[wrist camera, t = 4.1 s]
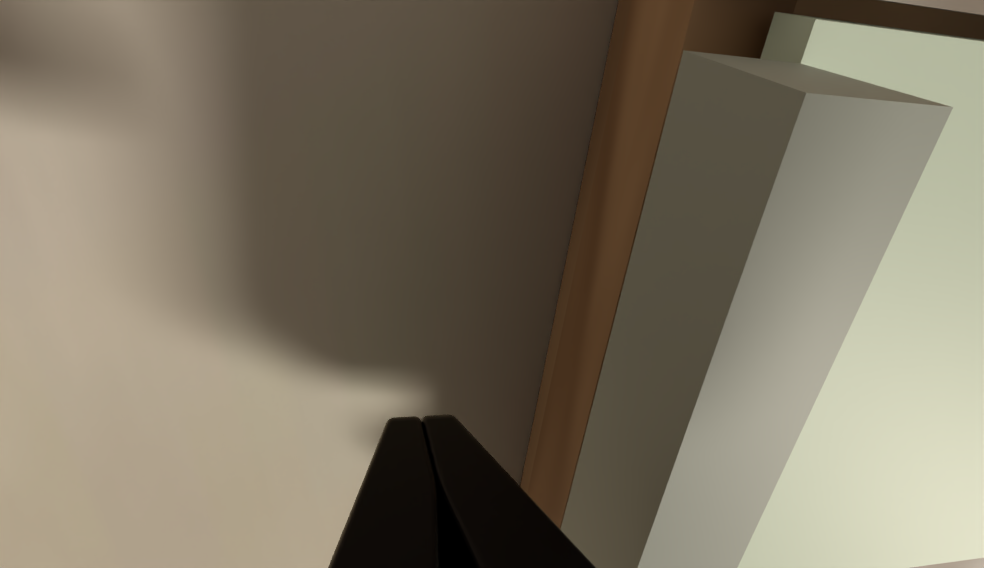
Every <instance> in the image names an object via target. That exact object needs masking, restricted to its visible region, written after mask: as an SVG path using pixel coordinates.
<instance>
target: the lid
mask: <svg viewBox="0 0 984 568" xmlns="http://www.w3.org/2000/svg"><path fill="white" fill-rule="evenodd" d="M561 531H562V532H563V533H564V534H565V535H566V536H567V537H568V538H569V539H570V541H571V542H572V543H573V544H574V545H575V546H576V547H577V548H578V549H579V550H580V551H581V552H582V553H583V554H584V556H585V557H586V558H587V559H588V560H589V561H590V562H591V563H592V564H593V565H594V566H595V567H596V568H911V567H919V566H926V565H933V564H941V563H948V562H956V561H963V560H970V559H978V558H984V40H982V39H975V38H967V37H960V36H952V35H945V34H938V33H930V32H923V31H915V30H908V29H900V28H893V27H885V26H878V25H871V24H863V23H856V22H848V21H841V20H833V19H826V18H819V17H811V16H804V15H796V14H789V13H781V12H775V13H774V16H773V19H772V23H771V26H770V29H769V32H768V35H767V38H766V42H765V45H764V48H763V51H762V54H761V58H760V59H757V58H748V57H739V56H730V55H721V54H712V53H703V52H694V51H685V50H683V54H682V58H681V62H680V65H679V69H678V73H677V77H676V81H675V85H674V89H673V93H672V97H671V101H670V104H669V108H668V112H667V116H666V120H665V124H664V128H663V132H662V136H661V140H660V143H659V147H658V151H657V155H656V159H655V163H654V167H653V171H652V175H651V179H650V182H649V186H648V190H647V194H646V198H645V202H644V206H643V210H642V214H641V218H640V221H639V225H638V229H637V233H636V237H635V241H634V245H633V249H632V253H631V257H630V260H629V264H628V268H627V272H626V276H625V280H624V284H623V288H622V292H621V296H620V299H619V303H618V307H617V311H616V315H615V319H614V323H613V327H612V331H611V335H610V338H609V342H608V346H607V350H606V354H605V358H604V362H603V366H602V370H601V374H600V377H599V381H598V385H597V389H596V393H595V397H594V401H593V405H592V409H591V413H590V416H589V420H588V424H587V428H586V432H585V436H584V440H583V444H582V448H581V452H580V455H579V459H578V463H577V467H576V471H575V475H574V479H573V483H572V487H571V491H570V494H569V498H568V502H567V506H566V510H565V514H564V518H563V522H562V526H561Z"/></svg>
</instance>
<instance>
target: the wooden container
mask: <svg viewBox="0 0 984 568" xmlns="http://www.w3.org/2000/svg"><path fill="white" fill-rule="evenodd" d="M775 12H781V13H789V14H796V15H804V16H811V17H819V18H826V19H833V20H841V21H848V22H856V23H863V24H871V25H878V26H885V27H893V28H900V29H908V30H915V31H923V32H930V33H938V34H945V35H952V36H960V37H967V38H975V39H982V40H984V0H619V1H618V6H617V11H616V16H615V21H614V26H613V31H612V36H611V41H610V46H609V51H608V55H607V60H606V65H605V70H604V75H603V80H602V85H601V90H600V95H599V100H598V105H597V110H596V115H595V120H594V125H593V129H592V134H591V139H590V144H589V149H588V154H587V159H586V164H585V169H584V174H583V179H582V184H581V189H580V194H579V198H578V203H577V208H576V213H575V218H574V223H573V228H572V233H571V238H570V243H569V248H568V253H567V258H566V263H565V268H564V272H563V277H562V282H561V287H560V292H559V297H558V302H557V307H556V312H555V317H554V322H553V327H552V332H551V337H550V341H549V346H548V351H547V356H546V361H545V366H544V371H543V376H542V381H541V386H540V391H539V396H538V401H537V406H536V410H535V415H534V420H533V425H532V430H531V435H530V440H529V445H528V450H527V455H526V460H525V465H524V470H523V475H522V480H521V484H520V487H521V488H522V489H523V490H524V491H525V492H526V493H527V495H528V496H529V497H530V498H531V499H532V500H533V501H534V502H535V503H536V504H537V505H538V506H539V507H540V508H541V509H542V511H543V512H544V513H545V514H546V515H547V516H548V517H549V518H550V519H551V520H552V521H553V522H554V523H555V524H556V526H557V527H558V528H559V529H560V530H561V526H562V522H563V518H564V514H565V510H566V506H567V502H568V498H569V494H570V491H571V487H572V483H573V479H574V475H575V471H576V467H577V463H578V459H579V455H580V452H581V448H582V444H583V440H584V436H585V432H586V428H587V424H588V420H589V416H590V413H591V409H592V405H593V401H594V397H595V393H596V389H597V385H598V381H599V377H600V374H601V370H602V366H603V362H604V358H605V354H606V350H607V346H608V342H609V338H610V335H611V331H612V327H613V323H614V319H615V315H616V311H617V307H618V303H619V299H620V296H621V292H622V288H623V284H624V280H625V276H626V272H627V268H628V264H629V260H630V257H631V253H632V249H633V245H634V241H635V237H636V233H637V229H638V225H639V221H640V218H641V214H642V210H643V206H644V202H645V198H646V194H647V190H648V186H649V182H650V179H651V175H652V171H653V167H654V163H655V159H656V155H657V151H658V147H659V143H660V140H661V136H662V132H663V128H664V124H665V120H666V116H667V112H668V108H669V104H670V101H671V97H672V93H673V89H674V85H675V81H676V77H677V73H678V69H679V65H680V62H681V58H682V54H683V50H685V51H694V52H703V53H712V54H721V55H730V56H739V57H748V58H757V59H760V58H761V54H762V51H763V48H764V45H765V42H766V38H767V35H768V32H769V29H770V26H771V23H772V19H773V16H774V13H775ZM911 568H984V558H978V559H970V560H963V561H956V562H948V563H941V564H933V565H926V566H919V567H911Z"/></svg>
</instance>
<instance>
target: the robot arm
mask: <svg viewBox="0 0 984 568" xmlns="http://www.w3.org/2000/svg"><path fill="white" fill-rule="evenodd" d="M328 568H596V567H595V566H594V565H593V564H592V563H591V562H590V561H589V560H588V559H587V558H586V557H585V556H584V554H583V553H582V552H581V551H580V550H579V549H578V548H577V547H576V546H575V545H574V544H573V543H572V542H571V541H570V539H569V538H568V537H567V536H566V535H565V534H564V533H563V532H562V531H561V530H560V529H559V528H558V527H557V526H556V524H555V523H554V522H553V521H552V520H551V519H550V518H549V517H548V516H547V515H546V514H545V513H544V512H543V511H542V509H541V508H540V507H539V506H538V505H537V504H536V503H535V502H534V501H533V500H532V499H531V498H530V497H529V496H528V495H527V493H526V492H525V491H524V490H523V489H522V488H521V487H520V486H519V485H518V484H517V483H516V482H515V481H514V480H513V478H512V477H511V476H510V475H509V474H508V473H507V472H506V471H505V470H504V469H503V468H502V467H501V466H500V465H499V463H498V462H497V461H496V460H495V459H494V458H493V457H492V456H491V455H490V454H489V453H488V452H487V451H486V450H485V448H484V447H483V446H482V445H481V444H480V443H479V442H478V441H477V440H476V439H475V438H474V437H473V436H472V435H471V433H470V432H469V431H468V430H467V429H466V428H465V427H464V426H463V425H462V424H461V423H460V422H459V421H458V420H457V419H456V418H455V417H454V416H452V415H434V416H425V417H424V418H423V419H422V420H420V419H419V418H418V417H397V418H391V419H389V420H388V421H387V423H386V426H385V428H384V430H383V433H382V435H381V438H380V440H379V443H378V445H377V448H376V450H375V453H374V455H373V458H372V460H371V463H370V465H369V468H368V470H367V473H366V475H365V478H364V480H363V483H362V485H361V488H360V490H359V493H358V495H357V498H356V500H355V503H354V505H353V507H352V510H351V512H350V515H349V517H348V520H347V522H346V525H345V527H344V530H343V532H342V535H341V537H340V540H339V542H338V545H337V547H336V550H335V552H334V555H333V557H332V560H331V562H330V565H329V567H328Z"/></svg>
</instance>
